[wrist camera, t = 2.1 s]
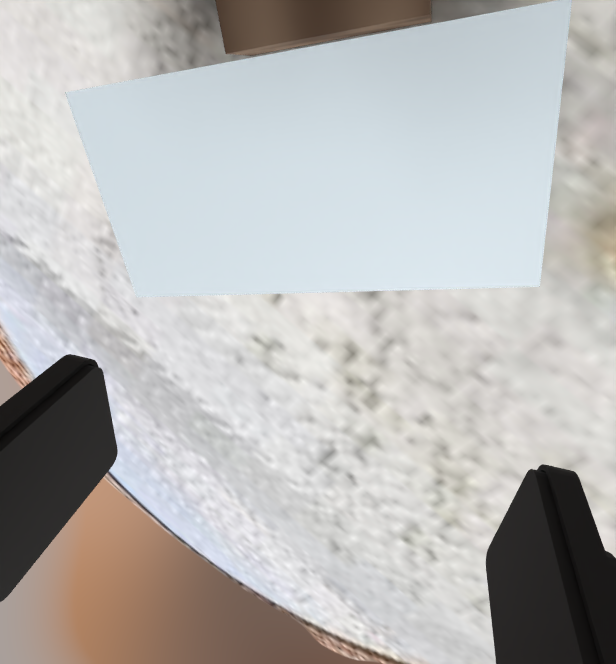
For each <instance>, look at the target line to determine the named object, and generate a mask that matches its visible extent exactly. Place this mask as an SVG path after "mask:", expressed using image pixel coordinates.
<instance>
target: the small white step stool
mask: <svg viewBox="0 0 616 664" xmlns="http://www.w3.org/2000/svg"><path fill="white" fill-rule="evenodd" d="M571 4H572V0H557V1H552V2H546V3H541V4H535V5H530V6H525V7H519V8H514V9H509V10H503V11H498V12H493V13H487V14H482V15H477V16H471V17H466V18H461V19H455V20H450V21H445V22H439V23H434V24H429V25H423V26H418V27H413V28H407V29H402V30H397V31H391V32H386V33H381V34H375V35H370V36H365V37H359V38H354V39H349V40H343V41H338V42H332V43H327V44H322V45H316V46H311V47H306V48H300V49H295V50H290V51H284V52H279V53H274V54H268V55H263V56H258V57H252V58H247V59H242V60H236V61H231V62H226V63H220V64H215V65H210V66H204V67H199V68H194V69H188V70H183V71H178V72H172V73H167V74H162V75H156V76H151V77H145V78H140V79H135V80H129V81H124V82H119V83H113V84H108V85H103V86H97V87H92V88H87V89H81V90H76V91H71V92H65V94H66V97H67V100H68V102H69V105H70V108H71V111H72V114H73V117H74V120H75V122H76V125H77V128H78V131H79V134H80V137H81V140H82V142H83V145H84V148H85V151H86V154H87V157H88V160H89V162H90V165H91V168H92V171H93V174H94V177H95V180H96V182H97V185H98V188H99V191H100V194H101V197H102V200H103V202H104V205H105V208H106V211H107V214H108V217H109V220H110V223H111V225H112V228H113V231H114V234H115V237H116V240H117V243H118V245H119V248H120V251H121V254H122V257H123V260H124V263H125V265H126V268H127V271H128V274H129V277H130V280H131V283H132V285H133V288H134V291H135V294H136V297H165V296H203V295H241V294H280V293H318V292H356V291H394V290H432V289H470V288H509V287H540V279H541V271H542V262H543V253H544V244H545V235H546V226H547V217H548V208H549V200H550V191H551V182H552V173H553V164H554V155H555V146H556V137H557V129H558V120H559V111H560V102H561V93H562V84H563V75H564V67H565V58H566V49H567V40H568V31H569V22H570V13H571Z"/></svg>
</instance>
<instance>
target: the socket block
mask: <svg viewBox="0 0 616 664" xmlns="http://www.w3.org/2000/svg"><path fill="white" fill-rule="evenodd" d="M215 1H216V6H217V11H218V16H219V21H220V27H221V32H222V37H223V42H224V47H225V52H226V54H235V55H248V56H252V55H257V54H263V53H268V52H273V51H279V50H284V49H289V48H294V47H300V46H305V45H310V44H316V43H321V42H326V41H332V40H337V39H342V38H347V37H353V36H358V35H363V34H369V33H374V32H379V31H385V30H390V29H395V28H400V27H406V26H411V25H416V24H422V23H427V22H431V0H215Z"/></svg>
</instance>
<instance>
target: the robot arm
mask: <svg viewBox="0 0 616 664" xmlns="http://www.w3.org/2000/svg"><path fill="white" fill-rule="evenodd" d="M116 457H117V445H116V440H115V434H114V429H113V423H112V418H111V412H110V407H109V402H108V396H107V391H106V385H105V380H104V375H103V371H102V369H101V368H99V367H98V364H97V362H96V361H95V360H92V359H89V358H84V357H80V356H76V355H71V354H69V355H66V356H64V357H62V358H61V359H60V360H58V361H57V362H56V363H55V364H53V365H52V366H51V367H49V368H48V369H47V370H46V371H44V372H43V373H42V374H41V375H39V376H38V377H37V378H35V379H34V380H33V381H32V382H30V383H29V384H28V385H27V386H25V387H24V388H23V389H21V390H20V391H19V392H18V393H16V394H15V395H14V396H13V397H11V398H10V399H9V400H8V401H6V402H5V403H4V404H2V405H1V406H0V602H1V601H3V600H4V599H5V598H6V597H7V596H8V595H9V594H10V593H11V592H12V590H13V589H14V588H15V587H16V585H17V584H18V583H19V582H20V580H21V579H22V578H23V576H24V575H25V574H26V573H27V572H28V570H29V569H30V568H31V566H32V565H33V564H34V563H35V562H36V560H37V559H38V558H39V557H40V555H41V554H42V553H43V552H44V550H45V549H46V548H47V547H48V545H49V544H50V543H51V542H52V540H53V539H54V538H55V537H56V535H57V534H58V533H59V532H60V530H61V529H62V528H63V527H64V525H65V524H66V523H67V522H68V520H69V519H70V518H71V517H72V515H73V514H74V513H75V512H76V510H77V509H78V508H79V507H80V506H81V504H82V503H83V502H84V500H85V499H86V498H87V497H88V495H89V494H90V493H91V492H92V491H93V489H94V488H95V487H96V486H97V484H98V483H99V482H100V480H101V479H102V478H103V477H104V476H105V474H106V473H107V472H108V471H109V469H110V468H111V467H112V465H113V464H114V462H115V460H116ZM486 572H487V581H488V590H489V600H490V609H491V618H492V628H493V637H494V646H495V656H496V664H616V558H615V557H614V556H613V555H612V554H611V553H609V552H607V551H605V550H604V547H603V544H602V541H601V538H600V536H599V533H598V530H597V527H596V524H595V521H594V519H593V516H592V513H591V510H590V507H589V505H588V502H587V499H586V496H585V493H584V491H583V488H582V485H581V482H580V479H579V477H578V475H577V474H576V473H575V472H574V471H570V470H566V469H561V468H557V467H553V466H549V465H543V464H542V465H541V466H539V468H538V469H537V470H533V469H530V470H529V471H528V472H527V474H526V476H525V478H524V480H523V482H522V484H521V485H520V487H519V489H518V491H517V493H516V495H515V497H514V499H513V501H512V503H511V505H510V507H509V509H508V511H507V513H506V515H505V517H504V519H503V521H502V523H501V525H500V526H499V528H498V530H497V532H496V534H495V536H494V538H493V540H492V542H491V544H490V546H489V548H488V551H487V556H486Z"/></svg>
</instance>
